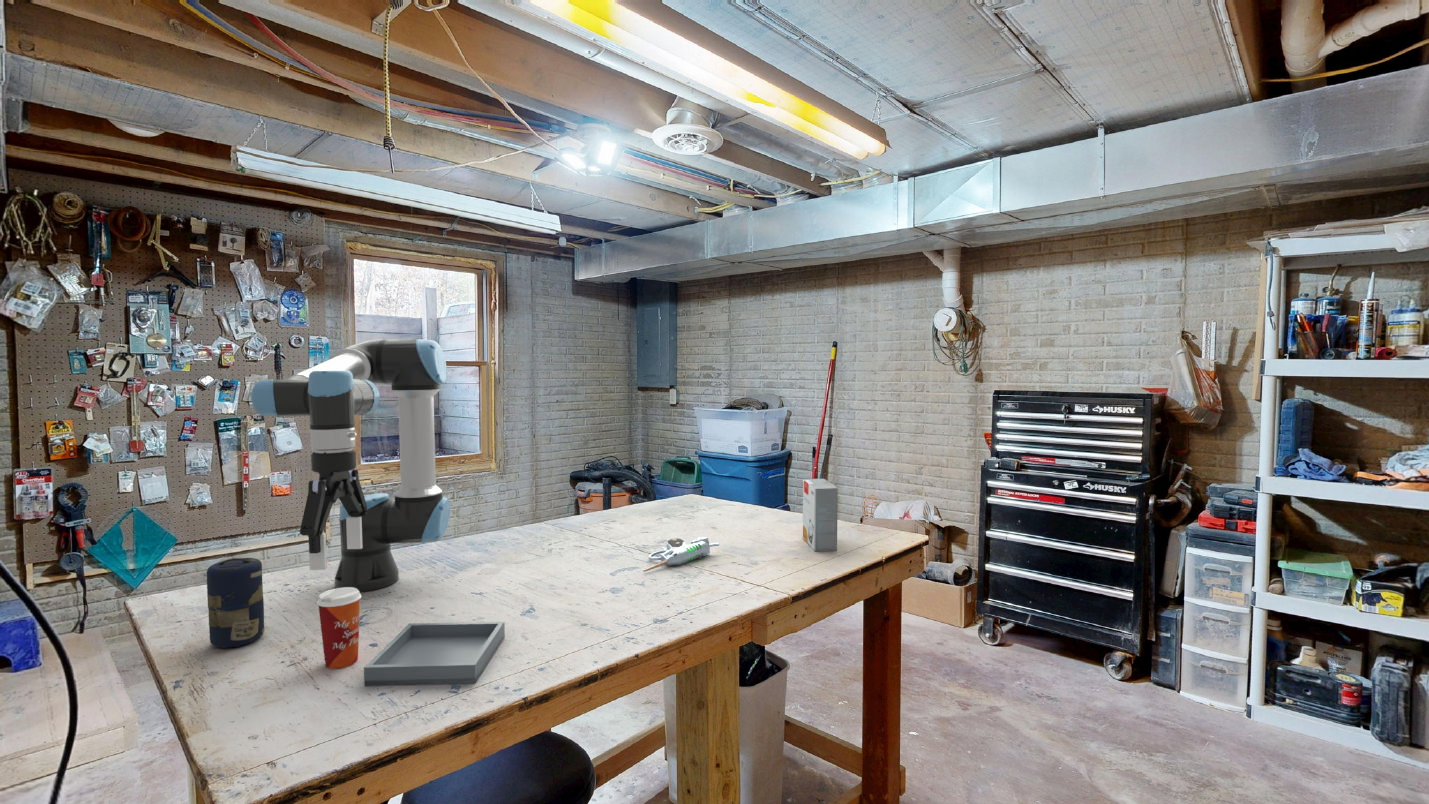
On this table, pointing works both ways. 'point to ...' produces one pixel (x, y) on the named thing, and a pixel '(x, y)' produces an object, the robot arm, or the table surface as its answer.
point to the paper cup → (340, 626)
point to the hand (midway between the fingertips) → (337, 558)
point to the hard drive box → (820, 514)
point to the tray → (436, 654)
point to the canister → (235, 602)
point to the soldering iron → (681, 552)
